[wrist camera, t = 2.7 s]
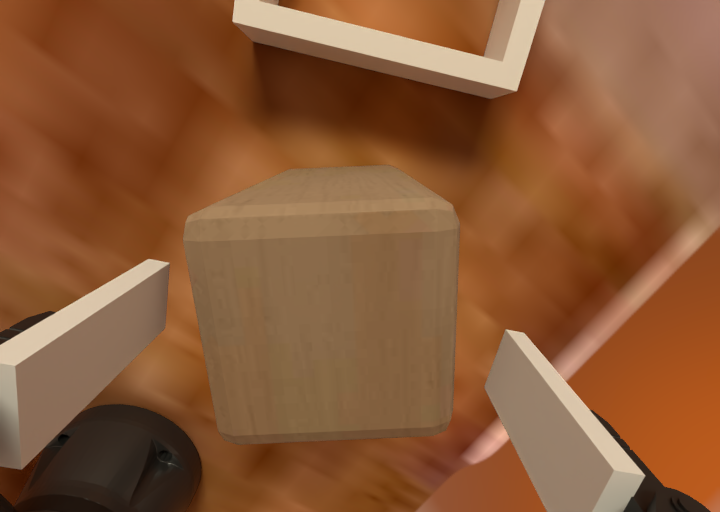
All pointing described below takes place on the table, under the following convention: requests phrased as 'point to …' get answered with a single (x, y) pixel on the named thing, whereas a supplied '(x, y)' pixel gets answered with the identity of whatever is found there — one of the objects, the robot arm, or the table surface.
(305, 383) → the wooden block
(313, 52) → the box
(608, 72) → the table surface
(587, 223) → the table surface
